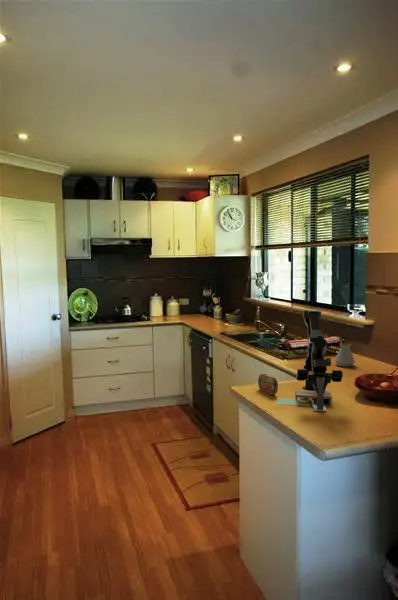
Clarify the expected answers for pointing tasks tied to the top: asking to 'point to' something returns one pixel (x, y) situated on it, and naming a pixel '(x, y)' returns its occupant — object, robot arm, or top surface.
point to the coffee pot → (344, 355)
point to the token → (304, 400)
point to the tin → (268, 384)
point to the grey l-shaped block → (319, 396)
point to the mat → (290, 401)
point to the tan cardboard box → (313, 395)
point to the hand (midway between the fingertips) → (320, 393)
